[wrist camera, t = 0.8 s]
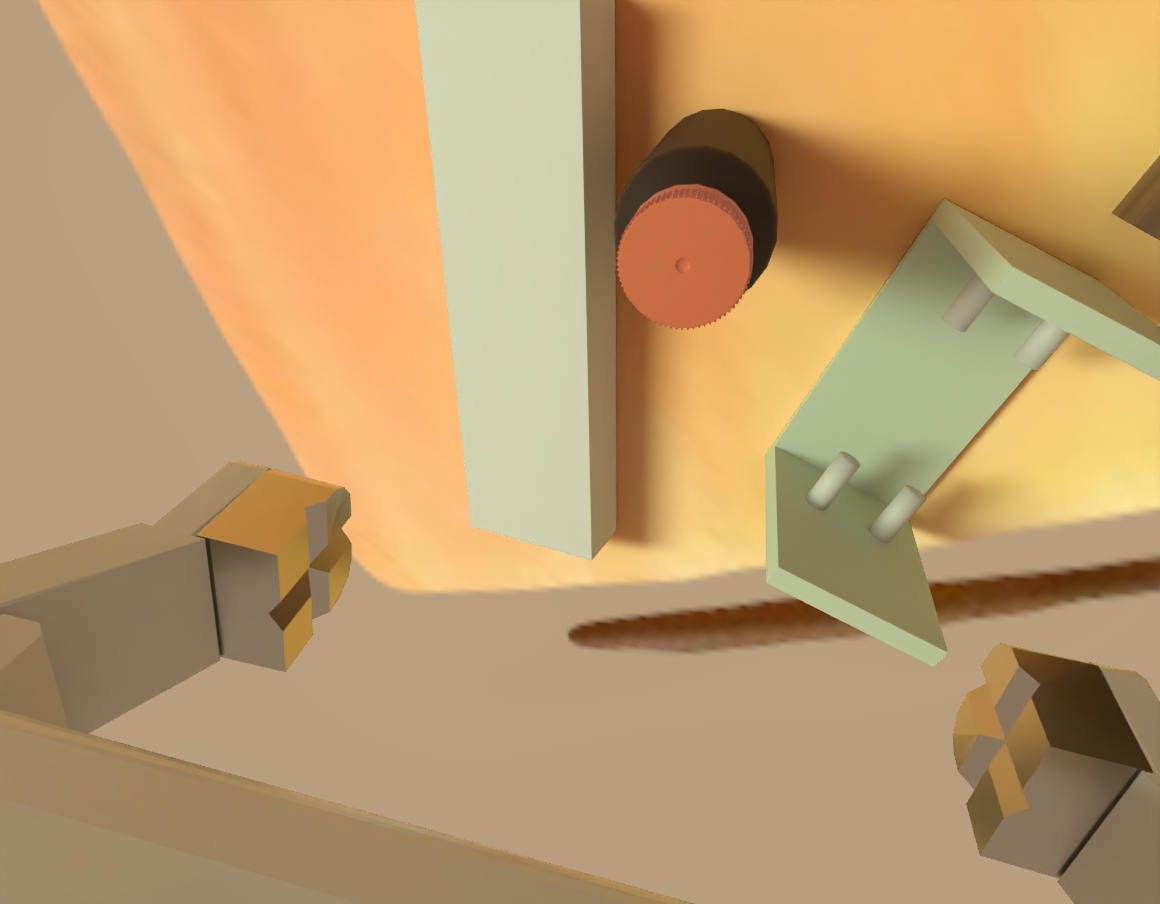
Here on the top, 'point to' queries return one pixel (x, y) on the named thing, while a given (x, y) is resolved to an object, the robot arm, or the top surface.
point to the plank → (1143, 202)
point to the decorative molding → (529, 257)
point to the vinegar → (697, 220)
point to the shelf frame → (920, 414)
